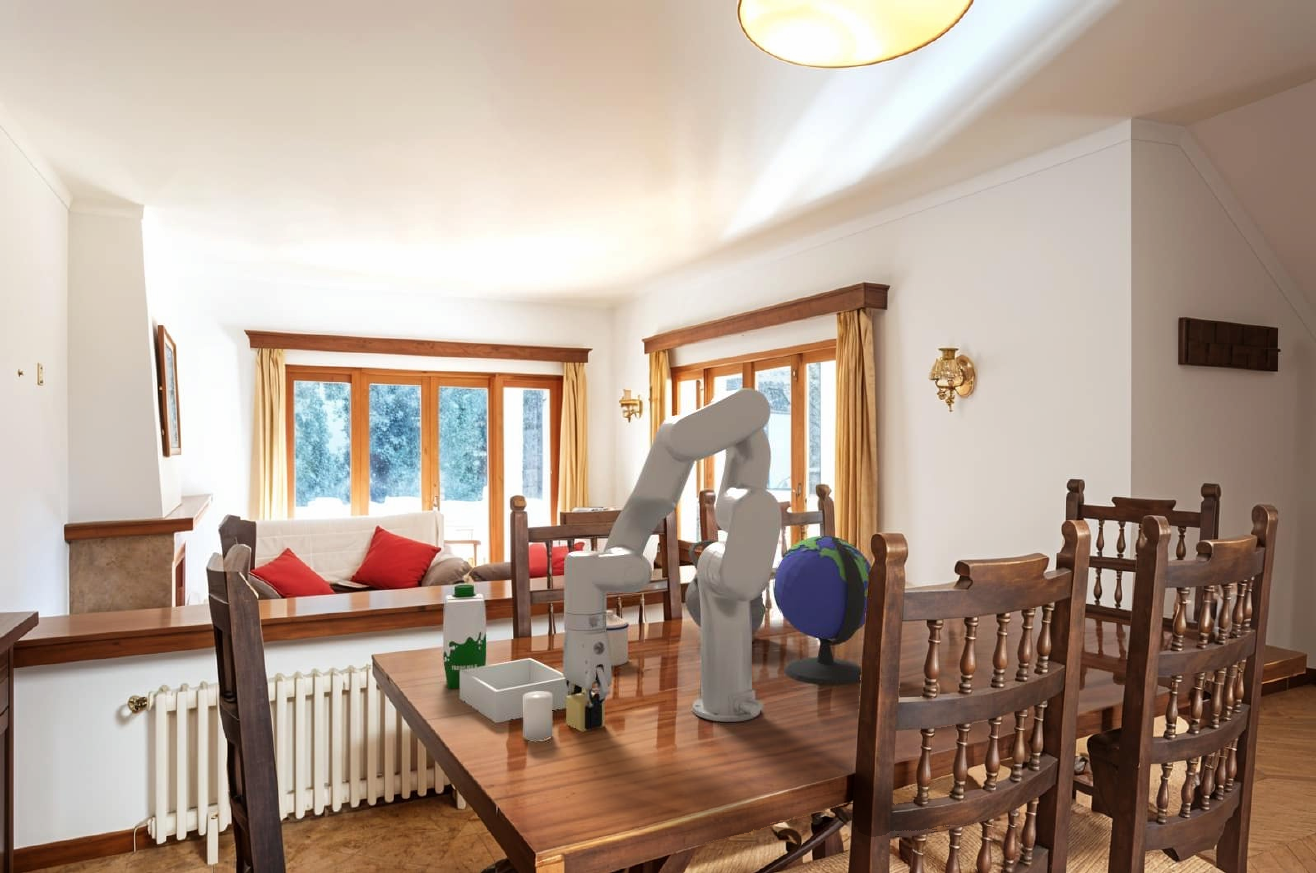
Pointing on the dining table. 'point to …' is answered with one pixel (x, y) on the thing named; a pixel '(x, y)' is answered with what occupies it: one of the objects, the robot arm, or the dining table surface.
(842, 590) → the globe
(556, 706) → the tote
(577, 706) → the mustard block
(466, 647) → the milk carton
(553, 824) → the dining table surface
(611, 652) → the teacup with lid
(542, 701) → the white canister
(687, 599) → the pot
